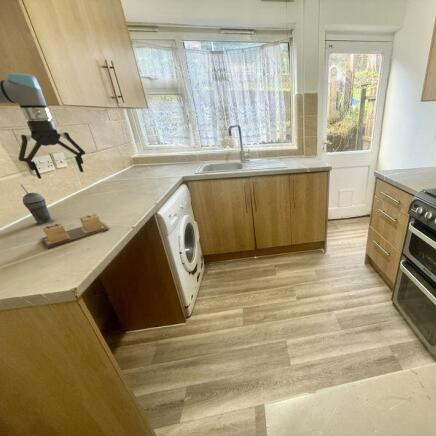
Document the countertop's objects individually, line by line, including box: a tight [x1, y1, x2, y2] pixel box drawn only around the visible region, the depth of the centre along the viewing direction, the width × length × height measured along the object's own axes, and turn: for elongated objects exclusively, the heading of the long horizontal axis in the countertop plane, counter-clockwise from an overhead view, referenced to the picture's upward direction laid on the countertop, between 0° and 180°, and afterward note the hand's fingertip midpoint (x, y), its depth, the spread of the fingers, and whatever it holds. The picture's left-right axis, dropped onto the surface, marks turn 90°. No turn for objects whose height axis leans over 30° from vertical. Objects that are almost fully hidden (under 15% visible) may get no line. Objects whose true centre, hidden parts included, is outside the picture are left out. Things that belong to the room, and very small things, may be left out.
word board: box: [42, 223, 109, 250], centre depth 104 cm, size 12×20×1 cm, turn 141°
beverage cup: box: [20, 183, 52, 225], centre depth 112 cm, size 7×7×20 cm
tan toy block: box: [41, 222, 68, 243], centre depth 99 cm, size 6×6×6 cm
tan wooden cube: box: [79, 213, 103, 232], centre depth 107 cm, size 6×6×6 cm
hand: (61, 174), depth 102 cm, fingers open, 13 cm apart
